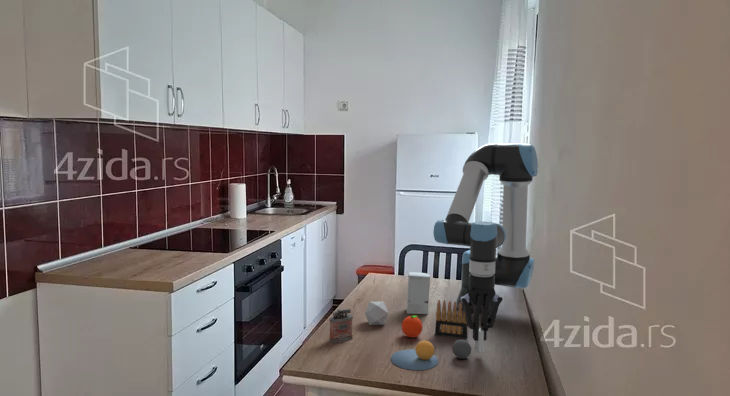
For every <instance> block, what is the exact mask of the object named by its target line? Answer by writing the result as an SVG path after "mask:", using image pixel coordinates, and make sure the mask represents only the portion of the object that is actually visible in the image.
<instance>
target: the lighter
mask: <svg viewBox="0 0 730 396" xmlns="http://www.w3.org/2000/svg"><path fill="white" fill-rule="evenodd" d="M332 315H333V316H331V317H329V338H328V339H329V340H328V341H329V343H341V342H347V341H350V340H353V319H354V315H353V314H351V308H344V309H341V308H339V309H336V310H334V311H332Z"/></svg>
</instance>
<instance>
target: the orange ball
mask: <svg viewBox="0 0 730 396" xmlns="http://www.w3.org/2000/svg"><path fill="white" fill-rule="evenodd" d="M415 350H416V354H417V356H418V357H419V358H420V359H423V360H428V359H430V358H431V357H432V356H433V355H435V354H434V353H435V348H434V344H432V343H431V342H430V341H429V340H420V341H419V342H417V344H416V346H415Z"/></svg>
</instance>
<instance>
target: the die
mask: <svg viewBox="0 0 730 396" xmlns="http://www.w3.org/2000/svg"><path fill="white" fill-rule="evenodd" d="M364 312H365V313H364V315H365V317H366V320H367V322H368V326H385V322H386V320H387V318H388V315H389V311H388V309H387V306H386V303H385V302H384V301H369V302H368V305H367V307H366V310H365V311H364Z"/></svg>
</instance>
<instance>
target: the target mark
mask: <svg viewBox="0 0 730 396" xmlns="http://www.w3.org/2000/svg"><path fill="white" fill-rule="evenodd" d="M390 361H391V362H392V364H394V366H396V367H398V368H401V369H405V370H408V371H426V370H430V369H433V368H435V367H436V366H438V364H439V359H438V357H437V356H436V355H435V354H433V356H432V357H431V358H430V359H428V360H423V359H420V358H419V357H418V356H417V354H416V349H411V348H410V349H402V350H398V351H396V352H394V353H393V354H392V355H391V356H390Z"/></svg>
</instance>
